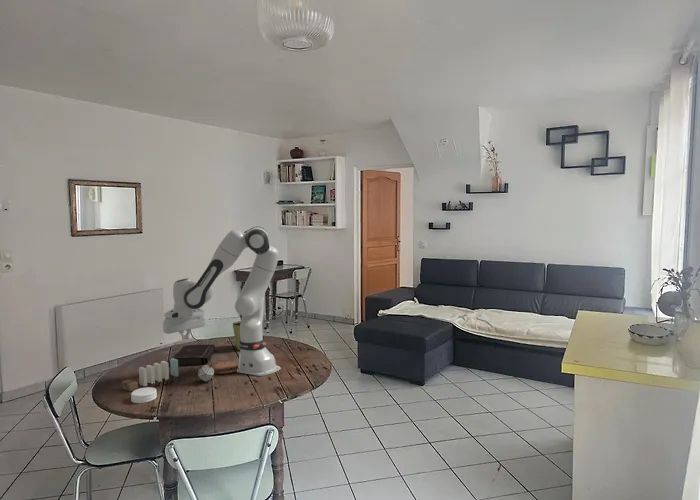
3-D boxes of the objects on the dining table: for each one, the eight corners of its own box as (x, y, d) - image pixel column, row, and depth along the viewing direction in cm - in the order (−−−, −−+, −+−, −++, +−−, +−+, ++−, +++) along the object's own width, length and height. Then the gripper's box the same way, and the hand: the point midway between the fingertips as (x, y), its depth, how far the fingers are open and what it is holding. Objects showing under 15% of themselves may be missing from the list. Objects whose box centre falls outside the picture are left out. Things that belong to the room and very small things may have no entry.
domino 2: (154, 383, 215) (154, 366, 214) (151, 384, 214) (151, 367, 213) (149, 381, 218) (149, 364, 217) (147, 382, 216) (146, 365, 216)
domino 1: (147, 385, 212) (146, 368, 212) (144, 386, 211) (143, 369, 210) (142, 383, 215) (141, 366, 214) (139, 384, 214) (138, 367, 213)
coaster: (160, 394, 202) (159, 386, 202) (151, 403, 192) (151, 395, 192) (137, 395, 201) (136, 387, 201) (127, 404, 191) (126, 396, 191)
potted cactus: (265, 346, 274) (264, 296, 272) (247, 352, 261) (245, 300, 259) (246, 342, 282) (245, 294, 280) (227, 349, 269) (225, 298, 267)
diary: (215, 352, 266) (215, 343, 266) (208, 366, 241) (207, 356, 241) (181, 353, 264) (181, 344, 263) (170, 367, 239) (170, 357, 239)
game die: (203, 390, 215) (190, 377, 210) (204, 378, 222) (191, 365, 217) (220, 380, 215) (207, 367, 210) (220, 369, 222) (208, 355, 217)
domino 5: (178, 375, 224) (177, 359, 224) (176, 376, 223) (175, 360, 223) (173, 374, 227) (172, 358, 227) (170, 375, 226) (170, 358, 225)
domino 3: (162, 381, 218) (161, 364, 217) (159, 381, 217) (158, 365, 216) (157, 379, 220) (156, 362, 220) (154, 380, 219) (153, 363, 219)
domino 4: (169, 378, 221) (168, 362, 220) (166, 379, 219) (165, 363, 219) (164, 377, 223) (163, 360, 223) (161, 377, 222) (160, 361, 222)
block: (138, 389, 207) (137, 382, 207) (130, 391, 205) (130, 384, 204) (130, 386, 212) (130, 379, 211) (122, 388, 209) (122, 381, 209)
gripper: (200, 307, 238) (202, 333, 239) (160, 314, 224) (162, 342, 225) (206, 308, 234) (207, 335, 235) (166, 315, 219) (168, 344, 220)
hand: (185, 338), depth 230 cm, fingers closed
